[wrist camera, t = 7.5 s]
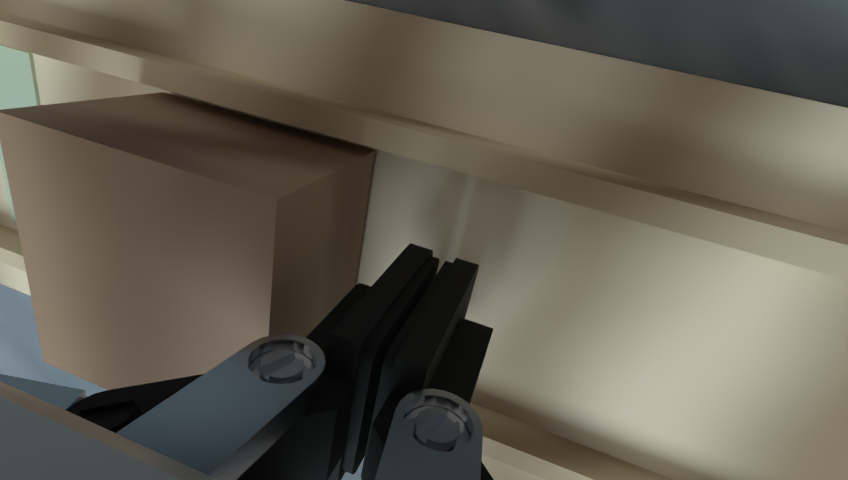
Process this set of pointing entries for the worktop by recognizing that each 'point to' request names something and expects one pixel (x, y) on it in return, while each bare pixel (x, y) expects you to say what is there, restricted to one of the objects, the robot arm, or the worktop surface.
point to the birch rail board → (536, 216)
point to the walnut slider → (177, 231)
